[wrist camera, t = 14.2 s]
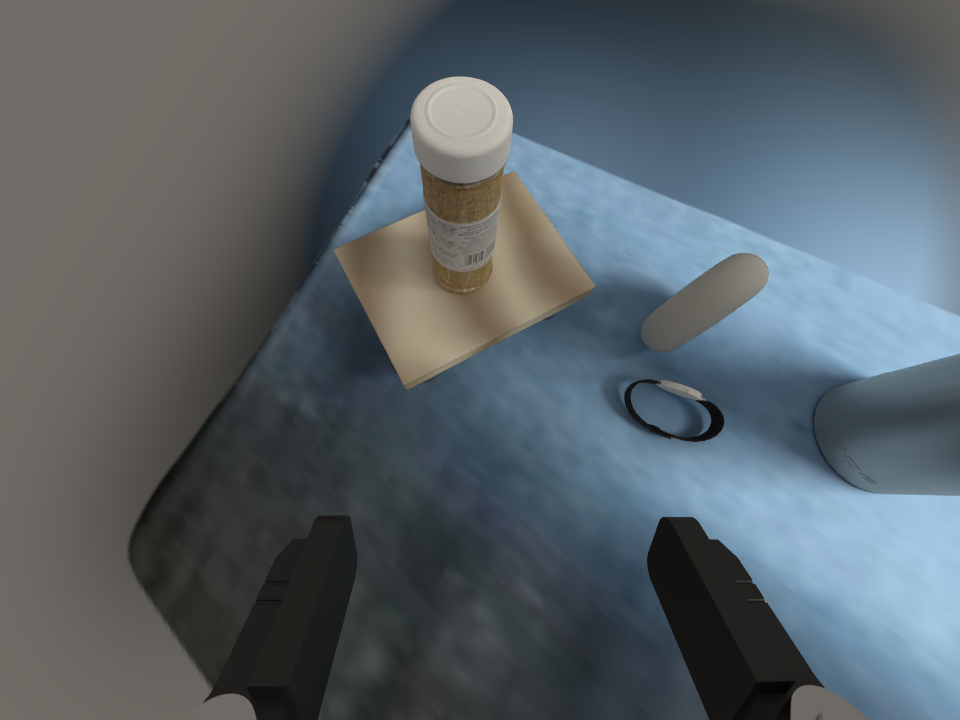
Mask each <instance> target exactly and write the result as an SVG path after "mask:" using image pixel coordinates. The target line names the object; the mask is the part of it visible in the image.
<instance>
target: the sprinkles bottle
mask: <svg viewBox="0 0 960 720" xmlns="http://www.w3.org/2000/svg"><path fill="white" fill-rule="evenodd" d="M512 126H513V115H512V110H511V107H510V105H509V103H508V101H507V99H506V98H505V96H504V95H503V94H502V93H501V92H500V91H499V90H498V89H497V88H495V87H494V86H492V85H490V84H489V83H487V82H485V81H482V80H479V79H476V78H471V77H450V78H445V79H442V80H439V81H436V82H434V83H432V84H431V85H429V86H427V87H426V88H425V89H424V90H423V91H422V92H421V93H420V94H419V95H418V96H417V98H416V100H415V101H414V103H413V106H412V110H411V129H412V138H413V145H414V151H415V154H416V156H417V159H418V161H419V163H420V167H421V175H422V182H423V197H424V204H425V212H426V219H427V226H428V233H429V241H430V247H431V251H432V256H433V273H434V275H435V278H436V280H437V281H438V282H439V284H440V285H441V286H442V287H444V288H445V289H446V290H449V291H451V292H455V293H459V294H461V293H462V294H467V293H471V292H474V291H477V290H478V289H480V288H482V287H483V286H484V285H485V284H486V283H487V282H488V280H489V279H490V276H491V273H492V270H493V263H492V256H493V253H494V250H495V243H496V236H497V229H498V222H499V214H500V207H501V198H502V195H501V186H502V178H503V169H504V166H505V162H506V160H507V158H508V155H509V151H510V144H511V136H512Z"/></svg>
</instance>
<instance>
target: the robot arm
mask: <svg viewBox="0 0 960 720" xmlns="http://www.w3.org/2000/svg"><path fill="white" fill-rule="evenodd" d="M814 430H815V435H816V439H817V442H818V445H819V447H820V449H821V451H822V453H823V455H824V457H825V458H826V460H827V461H828V463H829V464H830V465H831V466H832V467H833V468H834V470H835V471H836V472H837V473H838V474H839V475H840V476H842V477H843V478H844V479H846V480H847V481H848V482H849V483H851V484H853V485H855V486H857V487H858V488H860V489H863V490H866V491H869V492H872V493H880V494H907V495H943V496H960V354H957V355H953V356H950V357H946V358H942V359H938V360H934V361H931V362H927V363H923V364H919V365H915V366H912V367H908V368H904V369H900V370H896V371H893V372H888V373H884V374H880V375H877V376H873V377H869V378H865V379H861V380H858V381H854V382H850V383H846V384H843V385H840V386H837V387H834V388H832V389H831V390H829V391H828V392H826V393H825V395H824V396H823V397H822V398H821V399H820V401H819V403H818V405H817V407H816V411H815V416H814ZM647 565H648V572H649V576H650V579H651V582H652V584H653V586H654V589H655V591H656V594H657V596H658V598H659V601H660V603H661V606H662V608H663V610H664V613H665V615H666V617H667V620H668V622H669V625H670V627H671V629H672V632H673V634H674V636H675V639H676V641H677V644H678V646H679V648H680V651H681V653H682V655H683V658H684V660H685V663H686V665H687V667H688V670H689V672H690V674H691V677H692V679H693V682H694V684H695V686H696V689H697V691H698V694H699V696H700V698H701V701H702V703H703V705H704V708H705V710H706V713H707V715H708V717H709V720H867V719H866V718H865V717H864V716H863V715H862V714H861V713H860V712H859V711H858V710H857V709H856V708H855V707H854V706H853V705H851V704H850V703H849V702H847V701H846V700H845V699H843V698H842V697H840V696H839V695H837V694H836V693H834V692H832V691H830V690H828V689H825V688H824V686H823V685H822V684H821V683H820V682H819V680H818V679H817V678H816V676H815V675H814V673H813V672H812V670H811V669H810V667H809V666H808V664H807V663H806V661H805V660H804V658H803V657H802V655H801V654H800V652H799V651H798V649H797V647H796V646H795V644H794V643H793V641H792V640H791V638H790V637H789V635H788V634H787V632H786V631H785V629H784V628H783V626H782V625H781V623H780V622H779V620H778V618H777V617H776V615H775V614H774V612H773V611H772V609H771V608H770V606H769V605H768V603H765V601H764V597H763V596H762V594H761V592H760V591H759V589H758V588H757V586H756V585H755V584H753V583H752V579H751V577H750V576H749V574H748V573H747V571H746V570H745V568H744V567H743V565H742V563H741V562H740V560H739V559H738V558H737V557H736V556H735V555H734V554H733V553H732V552H731V551H730V550H729V549H728V548H726V547H725V546H724V545H723V544H722V543H721V542H720V541H719V540H709V538H708V536H707V535H706V533H705V532H704V530H703V528H702V527H701V525H700V524H699V522H698V521H697V520H696V519H695V518H693V517H662V518H661V519H660V521H659V523H658V526H657V529H656V532H655V535H654V538H653V541H652V544H651V546H650V549H649V552H648V557H647ZM356 568H357V552H356V546H355V540H354V535H353V529H352V523H351V518H350V516H318V517H317V518H316V520H315V521H314V523H313V526H312V528H311V531H310V533H309V536H308V538H307V539H293V540H292V541H291V542H290V543H289V544H288V545H287V546H286V547H285V548H284V549H283V551H282V552H281V553H280V554H279V555H278V556H277V557H276V558H275V560H274V563H273V565H272V567H271V569H270V571H269V573H268V575H267V577H266V580H265V584H264V585H263V586H262V588H261V590H260V592H259V594H258V597H257V599H256V603H255V605H253V607H252V609H251V611H250V614H249V616H248V618H247V620H246V622H245V624H244V626H243V628H242V631H241V633H240V635H239V637H238V639H237V641H236V643H235V645H234V648H233V650H232V652H231V654H230V656H229V658H228V660H227V662H226V665H225V667H224V669H223V671H222V673H221V675H220V677H219V679H218V681H217V683H216V685H215V687H214V689H213V690H212V692H211V693H210V694H209V696H208V697H207V698H206V700H205V701H204V702H203V703H202V704H201V705H200V706H199V707H197V708H196V709H195V710H194V711H193V712H191V713H190V714H189V715H188V716H187V717H186V718H185V719H184V720H318V716H319V712H320V709H321V705H322V701H323V697H324V694H325V690H326V686H327V682H328V678H329V675H330V671H331V667H332V663H333V660H334V656H335V652H336V648H337V644H338V641H339V637H340V633H341V629H342V625H343V622H344V618H345V614H346V610H347V607H348V603H349V599H350V595H351V591H352V588H353V584H354V580H355V575H356Z"/></svg>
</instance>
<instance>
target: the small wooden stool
mask: <svg viewBox="0 0 960 720" xmlns="http://www.w3.org/2000/svg"><path fill="white" fill-rule="evenodd" d="M501 195H502V198H501V207H500V214H499V222H498V229H497V236H496V243H495V250H494V253H493V256H492V263H493V270H492V273H491V276H490V279H489V280H488V282H487V283H486V284H485V285H484V286H483V287H482V288H480V289H478V290H477V291H474V292H471V293H467V294H462V293H461V294H459V293H455V292H451V291H449V290H446V289H445V288H444V287H442V286H441V285H440V284H439V282H438V281H437V280H436V278H435V275H434V273H433V256H432V251H431V247H430V241H429V233H428V226H427V219H426V212H425V210H423V211H421V212H419V213H416V214H414V215H412V216H409V217H407V218H405V219H402V220H400V221H398V222H395V223H393V224H391V225H389V226H386V227H384V228H382V229H379V230H377V231H375V232H372V233H370V234H368V235H365V236H363V237H361V238H358V239H356V240H354V241H352V242H349V243H347V244H345V245H342V246H340V247H338V248H335V249H333V250H334V252H335V254H336V256H337V258H338V260H339V262H340V264H341V266H342V268H343V270H344V271H345V273H346V275H347V277H348V279H349V281H350V283H351V285H352V287H353V289H354V291H355V293H356V294H357V296H358V298H359V300H360V302H361V304H362V306H363V308H364V310H365V312H366V314H367V316H368V317H369V319H370V321H371V323H372V325H373V327H374V329H375V331H376V333H377V335H378V337H379V339H380V340H381V342H382V344H383V346H384V348H385V350H386V352H387V354H388V356H389V358H390V360H391V362H392V363H393V365H394V367H395V369H396V371H397V373H398V375H399V377H400V379H401V381H402V383H403V384H404V386H405V388H406V390H408V389H410V388H412V387H414V386H416V385H418V384H420V383H422V382H429V381H431V380H432V379H433V378H434V377H435V375H437V374H439V373H441V372H443V371H445V370H447V369H449V368H451V367H453V366H454V365H456V364H458V363H460V362H462V361H464V360H466V359H468V358H470V357H472V356H474V355H476V354H478V353H479V352H481V351H483V350H485V349H487V348H489V347H491V346H493V345H495V344H497V343H499V342H501V341H502V340H504V339H506V338H508V337H510V336H512V335H514V334H516V333H518V332H520V331H522V330H524V329H526V328H527V327H529V326H531V325H533V324H535V323H537V322H539V321H541V320H547V319H550V318H551V317H552V316H553V315H554V313H556V312H558V311H560V310H562V309H564V308H566V307H568V306H570V305H572V304H574V303H575V302H577V301H579V300H581V299H583V298H585V297H587V296H589V295H590V294H591V292H592V291H593V289H594V288H595V285H594V283H593V282H592V280H591V279H590V278H589V276H588V275H587V273H586V272H585V270H584V269H583V268H582V266H581V265H580V263H579V262H578V260H577V259H576V258H575V256H574V255H573V253H572V252H571V251H570V249H569V248H568V246H567V245H566V243H565V242H564V241H563V239H562V238H561V236H560V235H559V234H558V232H557V231H556V229H555V228H554V226H553V225H552V224H551V222H550V221H549V219H548V218H547V216H546V215H545V214H544V212H543V211H542V209H541V208H540V207H539V205H538V204H537V202H536V201H535V199H534V198H533V197H532V195H531V194H530V192H529V191H528V190H527V188H526V187H525V185H524V184H523V182H522V181H521V180H520V178H519V177H518V175H517V174H516V172H515V171H513V172H511V173H509V174H506V175H504V176H503V178H502V186H501Z"/></svg>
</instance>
